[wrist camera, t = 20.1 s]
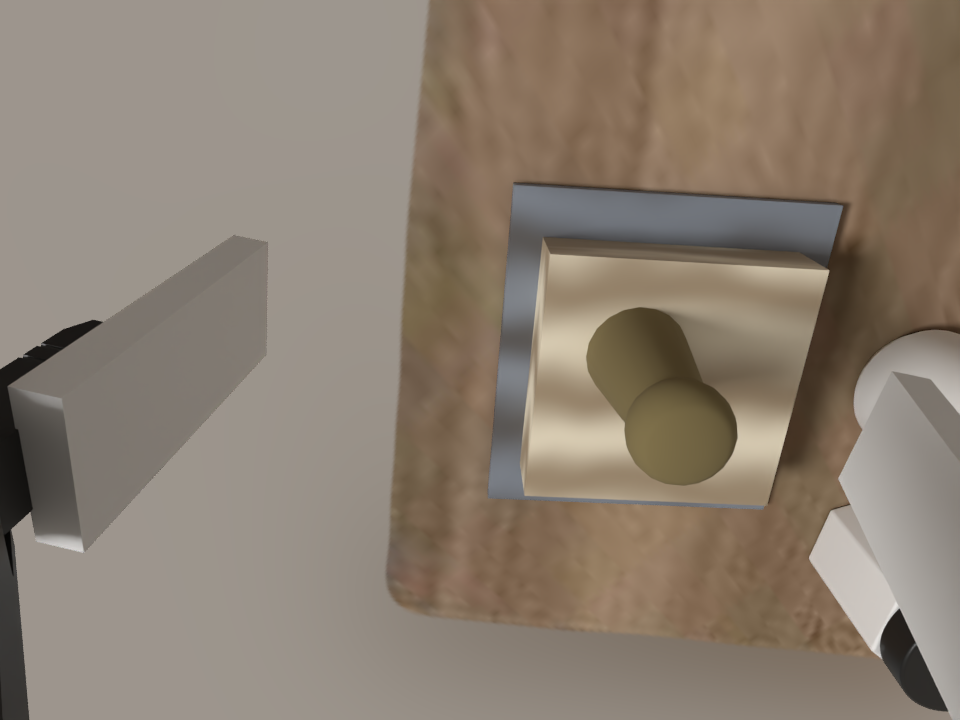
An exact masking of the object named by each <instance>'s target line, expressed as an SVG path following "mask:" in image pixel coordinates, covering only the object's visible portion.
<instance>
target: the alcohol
mask: <svg viewBox="0 0 960 720" xmlns="http://www.w3.org/2000/svg"><path fill="white" fill-rule="evenodd" d="M892 371H894V372H899V373H904V374H909V375H914V376H918V377H923V378H928V379H931V380H932V382H933V383H934V384H935V385H936V386H937V388H938V389H939V390H940V391H941V392H942V394H943V395H944V396H945V397H946V399H947V400H948V401H949V402H950V403H951V405H952V406H953V407H954V408H955V409H956V411H957V412H958V413H959V414H960V334H957V333H954V332H951V331H945V330H928V331H921V332H917V333H914V334H910V335H906V336H903V337H900V338H898V339H896V340H894V341H892V342H890V343H889V344H887V345H886V346H884V347H883V348H881V349H880V350H879V351H878V352H877V353H875V354H874V355H873V356H872V357H871V358H870V360H869V361H868V362H867V364H866V365H865V366H864V368H863V370H862V372H861V373H860V375H859V378H858V381H857V384H856V388H855V395H854V411H855V416H856V418H857V421H858V424H859V425H860V427H861V428H862V429H863V428H864V426H865V424H866V422H867V420H868V418H869V416H870V414H871V412H872V410H873V408H874V406H875V404H876V402H877V400H878V398H879V396H880V394H881V392H882V390H883V388H884V386H885V384H886V382H887V380H888V378H889V376H890V374H891V372H892Z"/></svg>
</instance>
